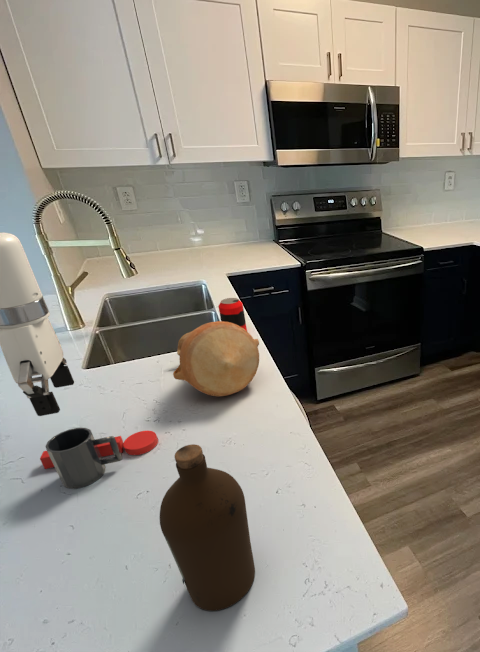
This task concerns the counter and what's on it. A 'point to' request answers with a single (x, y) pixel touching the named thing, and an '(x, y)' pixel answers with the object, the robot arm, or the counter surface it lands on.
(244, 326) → the soda can
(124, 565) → the counter surface
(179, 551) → the olive oil
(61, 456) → the mug
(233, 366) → the jug
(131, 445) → the spoon
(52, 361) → the robot arm
